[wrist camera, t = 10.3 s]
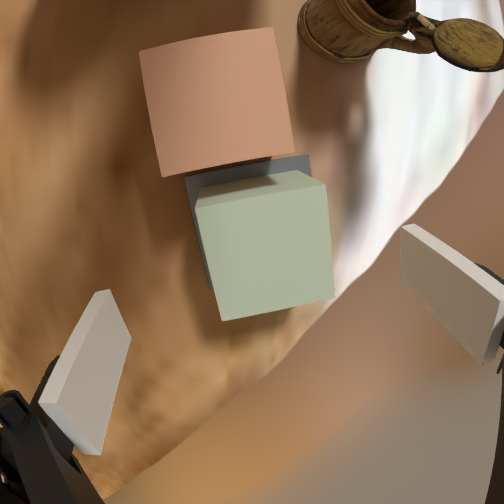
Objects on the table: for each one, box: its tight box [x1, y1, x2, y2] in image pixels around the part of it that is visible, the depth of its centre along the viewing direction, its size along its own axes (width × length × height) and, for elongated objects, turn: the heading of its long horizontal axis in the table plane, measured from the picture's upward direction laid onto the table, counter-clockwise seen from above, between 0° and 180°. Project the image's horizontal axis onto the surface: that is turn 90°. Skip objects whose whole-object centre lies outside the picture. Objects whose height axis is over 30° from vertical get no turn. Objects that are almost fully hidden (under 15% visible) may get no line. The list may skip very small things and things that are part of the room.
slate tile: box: [184, 155, 312, 290], centre depth 35 cm, size 13×13×1 cm
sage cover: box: [195, 170, 335, 321], centre depth 30 cm, size 10×10×9 cm
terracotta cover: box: [138, 27, 295, 177], centre depth 26 cm, size 10×10×9 cm
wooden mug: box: [298, 0, 504, 72], centre depth 20 cm, size 9×14×18 cm, turn 54°
